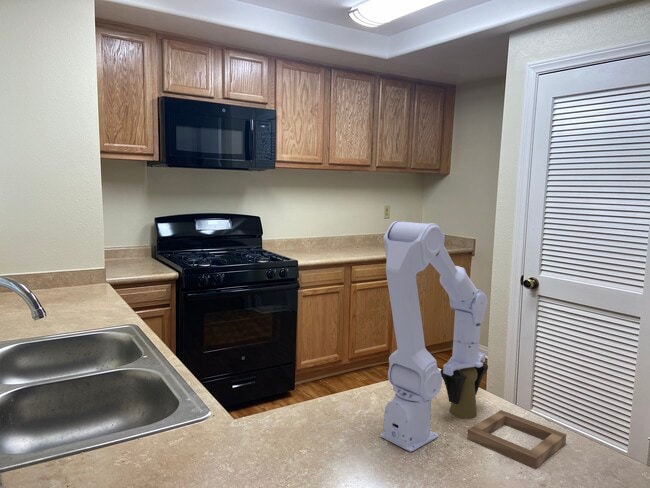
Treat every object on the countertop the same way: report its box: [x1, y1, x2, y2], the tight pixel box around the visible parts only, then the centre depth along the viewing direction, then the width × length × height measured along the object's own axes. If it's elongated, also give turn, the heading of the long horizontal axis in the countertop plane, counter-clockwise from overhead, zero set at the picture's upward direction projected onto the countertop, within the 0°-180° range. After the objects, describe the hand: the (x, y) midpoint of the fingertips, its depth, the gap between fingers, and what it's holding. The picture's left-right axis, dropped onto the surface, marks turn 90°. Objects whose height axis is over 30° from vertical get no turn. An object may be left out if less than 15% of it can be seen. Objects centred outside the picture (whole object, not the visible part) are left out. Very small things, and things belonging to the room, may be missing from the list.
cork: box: [449, 367, 478, 420], centre depth 109 cm, size 6×6×11 cm
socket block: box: [466, 409, 567, 469], centre depth 97 cm, size 14×14×2 cm
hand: (462, 398), depth 109 cm, fingers open, 7 cm apart
